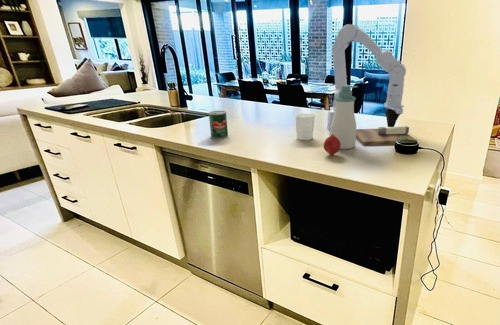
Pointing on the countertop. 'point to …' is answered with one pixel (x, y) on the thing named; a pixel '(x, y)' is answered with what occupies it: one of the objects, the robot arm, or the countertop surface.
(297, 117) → the white cup
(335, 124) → the soap bottle
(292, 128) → the countertop surface
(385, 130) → the dial lever
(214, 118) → the canned tomato
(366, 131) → the dial board
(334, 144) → the onion
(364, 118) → the countertop surface
